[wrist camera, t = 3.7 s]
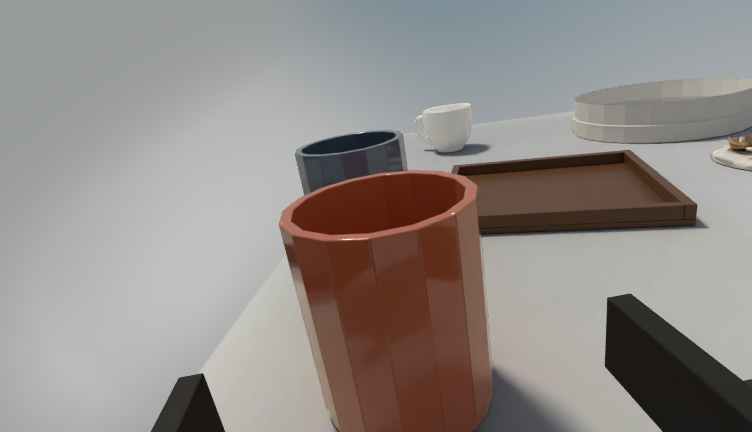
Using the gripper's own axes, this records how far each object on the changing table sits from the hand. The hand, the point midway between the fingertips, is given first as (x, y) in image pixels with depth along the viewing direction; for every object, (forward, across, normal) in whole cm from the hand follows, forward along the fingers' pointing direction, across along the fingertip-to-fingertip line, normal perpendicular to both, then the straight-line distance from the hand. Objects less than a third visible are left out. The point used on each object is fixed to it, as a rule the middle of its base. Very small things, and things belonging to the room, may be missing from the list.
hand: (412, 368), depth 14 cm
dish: (+48, +44, -6) cm, 66 cm away
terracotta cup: (+6, 0, -6) cm, 8 cm away
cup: (+57, +14, -6) cm, 59 cm away
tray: (+28, +18, -6) cm, 34 cm away
